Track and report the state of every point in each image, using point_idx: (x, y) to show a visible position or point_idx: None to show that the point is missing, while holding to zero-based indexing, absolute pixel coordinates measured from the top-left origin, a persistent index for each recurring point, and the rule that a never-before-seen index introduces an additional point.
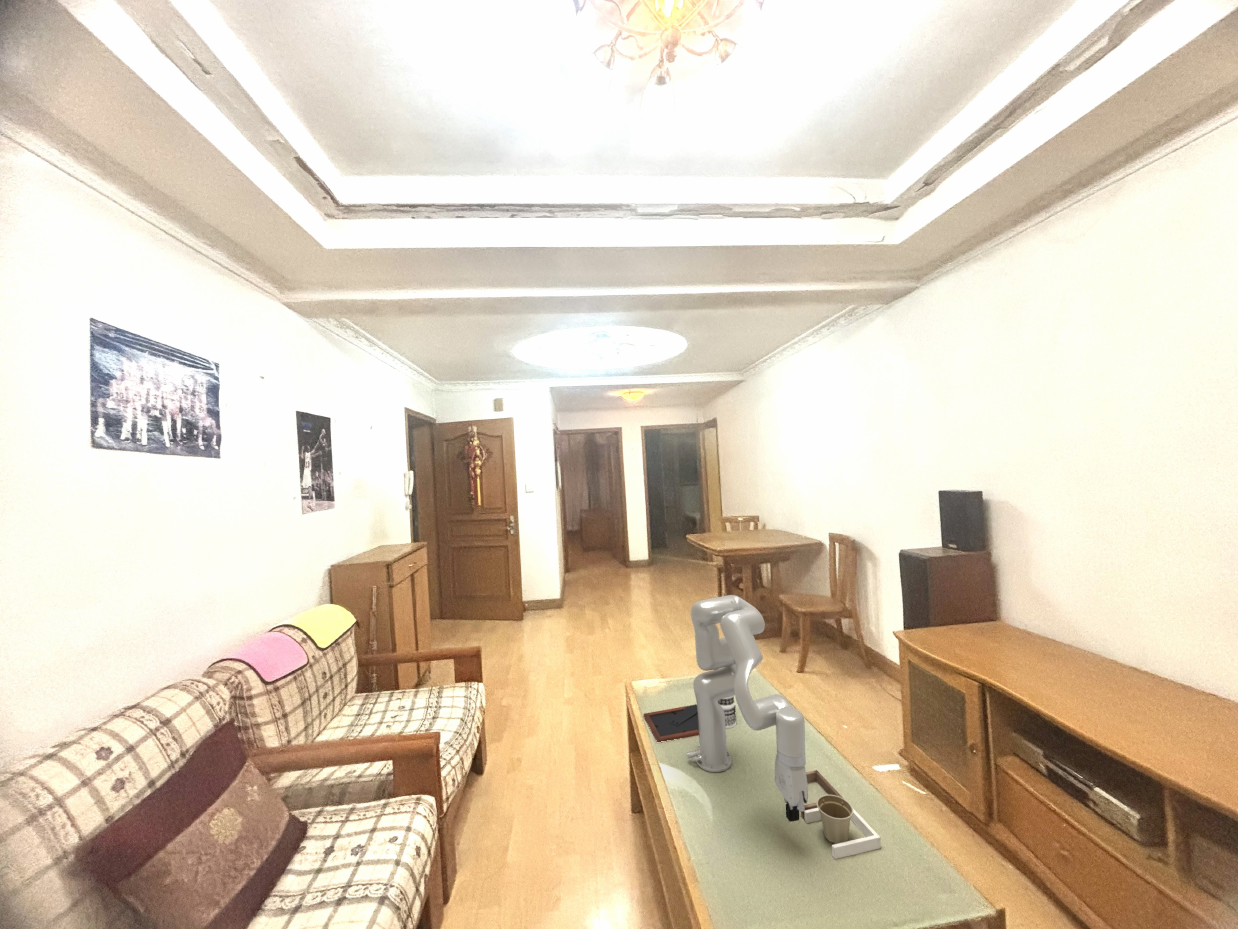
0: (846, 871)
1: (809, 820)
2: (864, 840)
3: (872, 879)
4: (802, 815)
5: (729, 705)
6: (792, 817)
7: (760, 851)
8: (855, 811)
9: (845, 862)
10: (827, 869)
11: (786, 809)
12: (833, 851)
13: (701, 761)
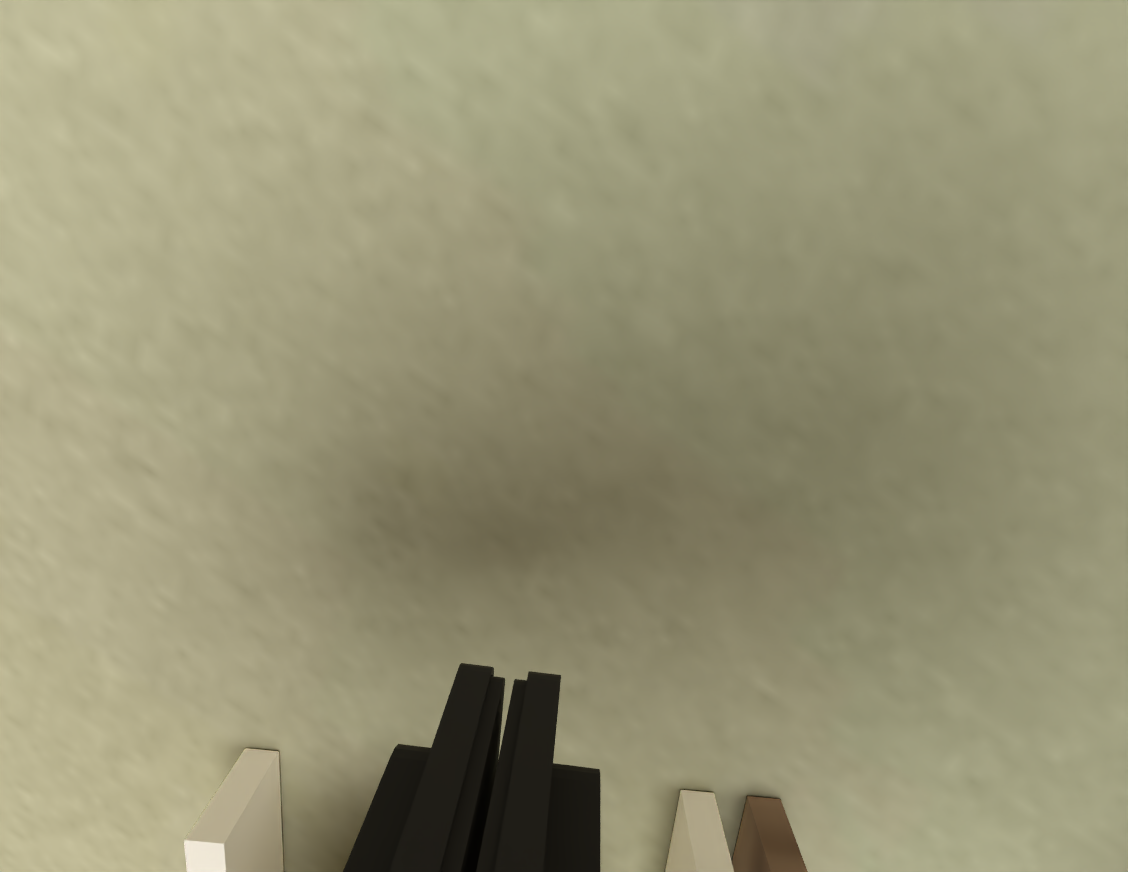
0: (113, 749)
1: (678, 833)
2: None
3: (14, 857)
4: (758, 819)
5: None
6: (396, 773)
7: (546, 125)
8: None
9: (198, 797)
10: (159, 632)
11: (507, 818)
12: (223, 800)
13: None
